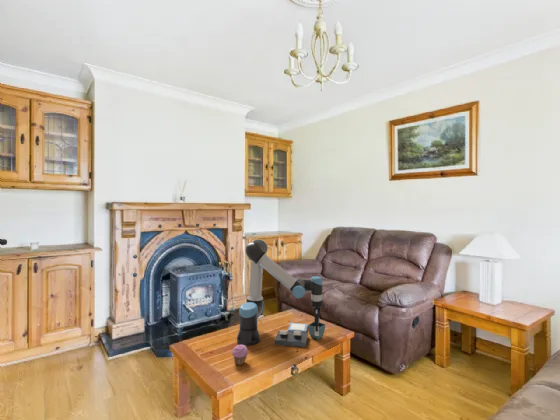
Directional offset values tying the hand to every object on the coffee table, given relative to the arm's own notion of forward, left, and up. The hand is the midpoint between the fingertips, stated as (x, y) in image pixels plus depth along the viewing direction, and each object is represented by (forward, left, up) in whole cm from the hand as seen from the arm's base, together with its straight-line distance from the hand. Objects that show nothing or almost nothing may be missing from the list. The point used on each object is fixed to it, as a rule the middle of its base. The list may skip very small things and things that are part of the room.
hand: (317, 331), depth 205 cm
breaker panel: (-16, -8, -4) cm, 19 cm away
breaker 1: (-21, -8, +1) cm, 23 cm away
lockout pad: (-14, +12, -4) cm, 19 cm away
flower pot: (0, 0, -5) cm, 5 cm away
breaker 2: (-12, -8, +1) cm, 15 cm away
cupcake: (-41, -40, -5) cm, 58 cm away
